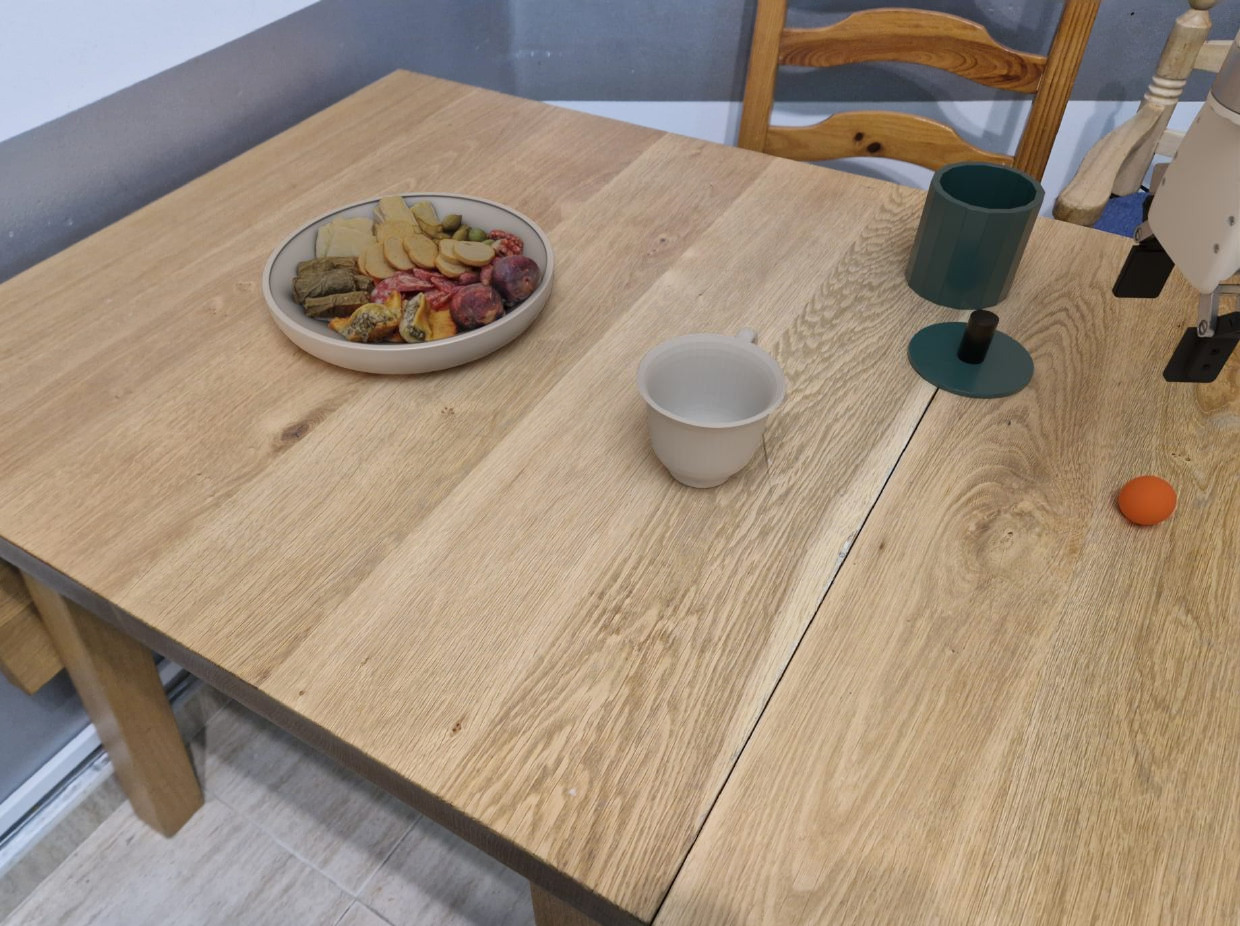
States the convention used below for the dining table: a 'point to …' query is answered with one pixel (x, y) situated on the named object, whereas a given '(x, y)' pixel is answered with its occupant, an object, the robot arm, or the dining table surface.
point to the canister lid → (971, 357)
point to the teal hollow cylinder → (973, 234)
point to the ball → (1147, 500)
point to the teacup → (708, 403)
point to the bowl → (409, 281)
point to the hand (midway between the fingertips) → (1158, 335)
